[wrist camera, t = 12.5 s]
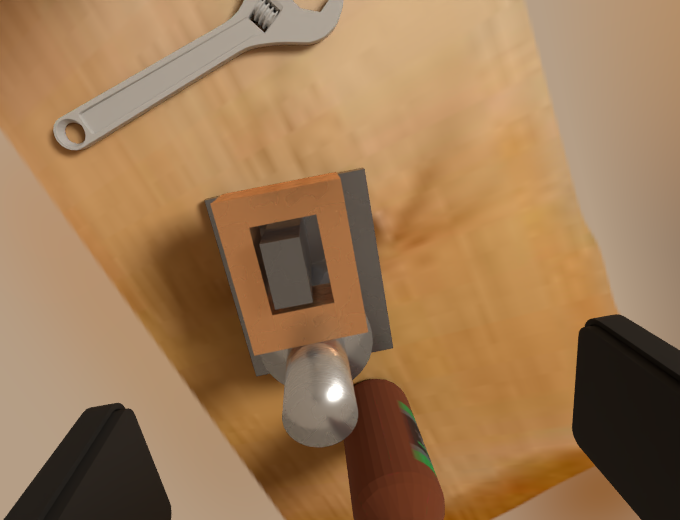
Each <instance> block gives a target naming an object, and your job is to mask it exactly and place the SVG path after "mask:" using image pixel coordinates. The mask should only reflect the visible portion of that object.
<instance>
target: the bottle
mask: <svg viewBox="0 0 680 520" xmlns="http://www.w3.org/2000/svg"><path fill="white" fill-rule="evenodd" d="M354 392H355V397H356V403H357V408H358V420H357V423H356V426H355V428H354V429H353V431H352V432H351V433H350V434H349V435H348V436H347V437H346V438H345V439H344V446H345V454H346V462H347V470H348V478H349V485H350V493H351V501H352V509H353V517H354V520H443V519H444V515H445V504H444V496H443V492H442V489H441V487H440V484H439V481H438V479H437V476H436V474H435V471H434V468H433V466H432V463H431V460H430V458H429V455H428V453H427V450H426V447H425V445H424V442H423V439H422V437H421V434H420V431H419V429H418V426H417V424H416V421H415V418H414V416H413V413H412V410H411V408H410V405H409V403H408V400H407V398H406V396H405V394H404V393H403V391H402V390H401V389H400V388H399V387H398V386H397V385H395V384H394V383H392V382H389V381H387V380H381V379H370V380H367V381H363V382H361V383H359V384H357V385H355V386H354Z"/></svg>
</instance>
